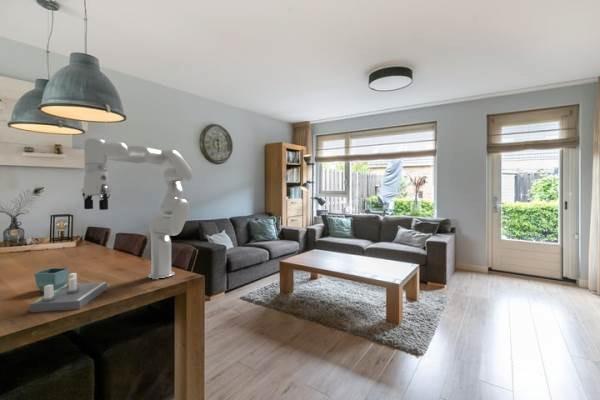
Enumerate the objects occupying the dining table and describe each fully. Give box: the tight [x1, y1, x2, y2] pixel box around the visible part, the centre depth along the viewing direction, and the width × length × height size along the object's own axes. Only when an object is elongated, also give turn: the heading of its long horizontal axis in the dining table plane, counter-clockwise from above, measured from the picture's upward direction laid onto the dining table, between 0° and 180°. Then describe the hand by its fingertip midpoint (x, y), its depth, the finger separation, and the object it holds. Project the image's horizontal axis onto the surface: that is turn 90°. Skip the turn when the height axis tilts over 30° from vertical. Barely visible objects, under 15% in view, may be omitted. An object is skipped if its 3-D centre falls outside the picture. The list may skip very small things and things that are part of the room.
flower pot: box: [34, 267, 70, 293], centre depth 128 cm, size 9×9×9 cm
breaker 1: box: [41, 284, 56, 301], centre depth 109 cm, size 4×3×5 cm
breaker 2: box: [66, 272, 80, 287], centre depth 124 cm, size 4×3×5 cm
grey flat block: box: [29, 281, 108, 313], centre depth 117 cm, size 23×16×3 cm
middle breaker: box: [66, 277, 79, 293], centre depth 117 cm, size 4×3×5 cm
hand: (96, 209), depth 119 cm, fingers open, 9 cm apart
